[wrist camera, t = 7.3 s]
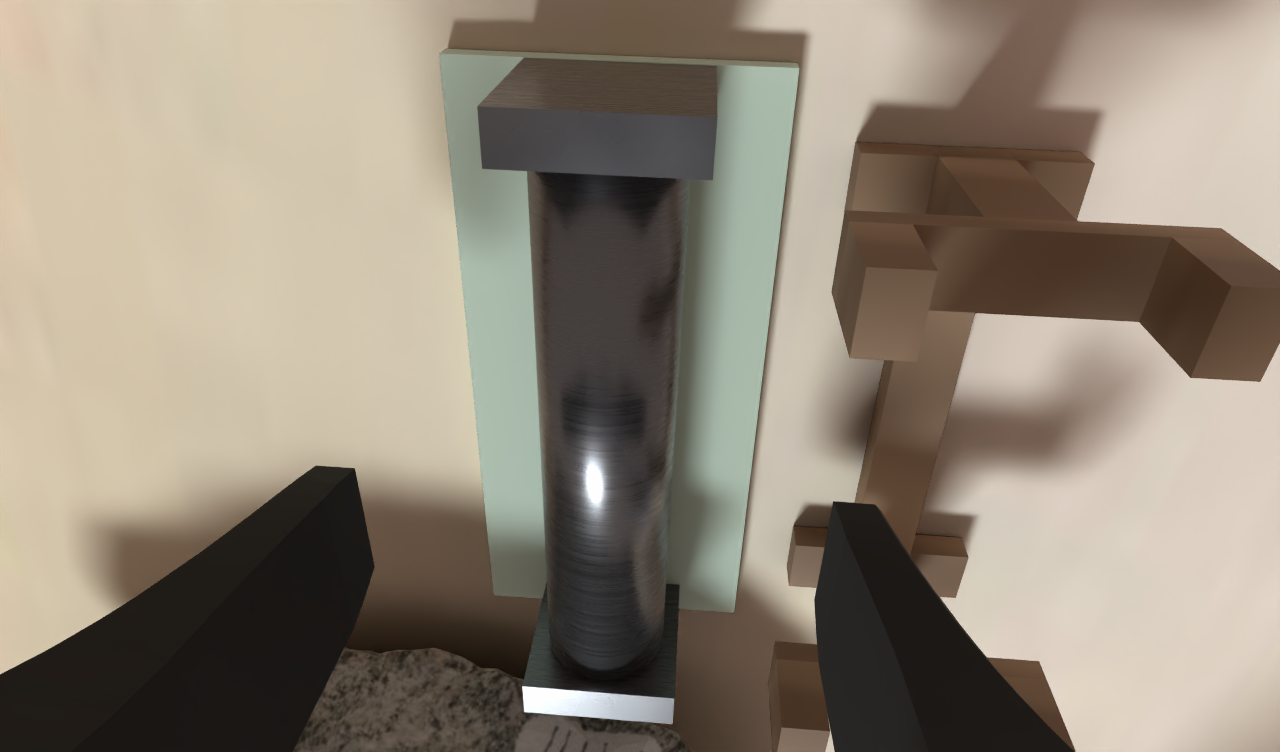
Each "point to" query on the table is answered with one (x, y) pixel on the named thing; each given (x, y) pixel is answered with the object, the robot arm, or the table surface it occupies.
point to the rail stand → (996, 284)
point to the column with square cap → (605, 359)
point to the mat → (710, 331)
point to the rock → (453, 712)
